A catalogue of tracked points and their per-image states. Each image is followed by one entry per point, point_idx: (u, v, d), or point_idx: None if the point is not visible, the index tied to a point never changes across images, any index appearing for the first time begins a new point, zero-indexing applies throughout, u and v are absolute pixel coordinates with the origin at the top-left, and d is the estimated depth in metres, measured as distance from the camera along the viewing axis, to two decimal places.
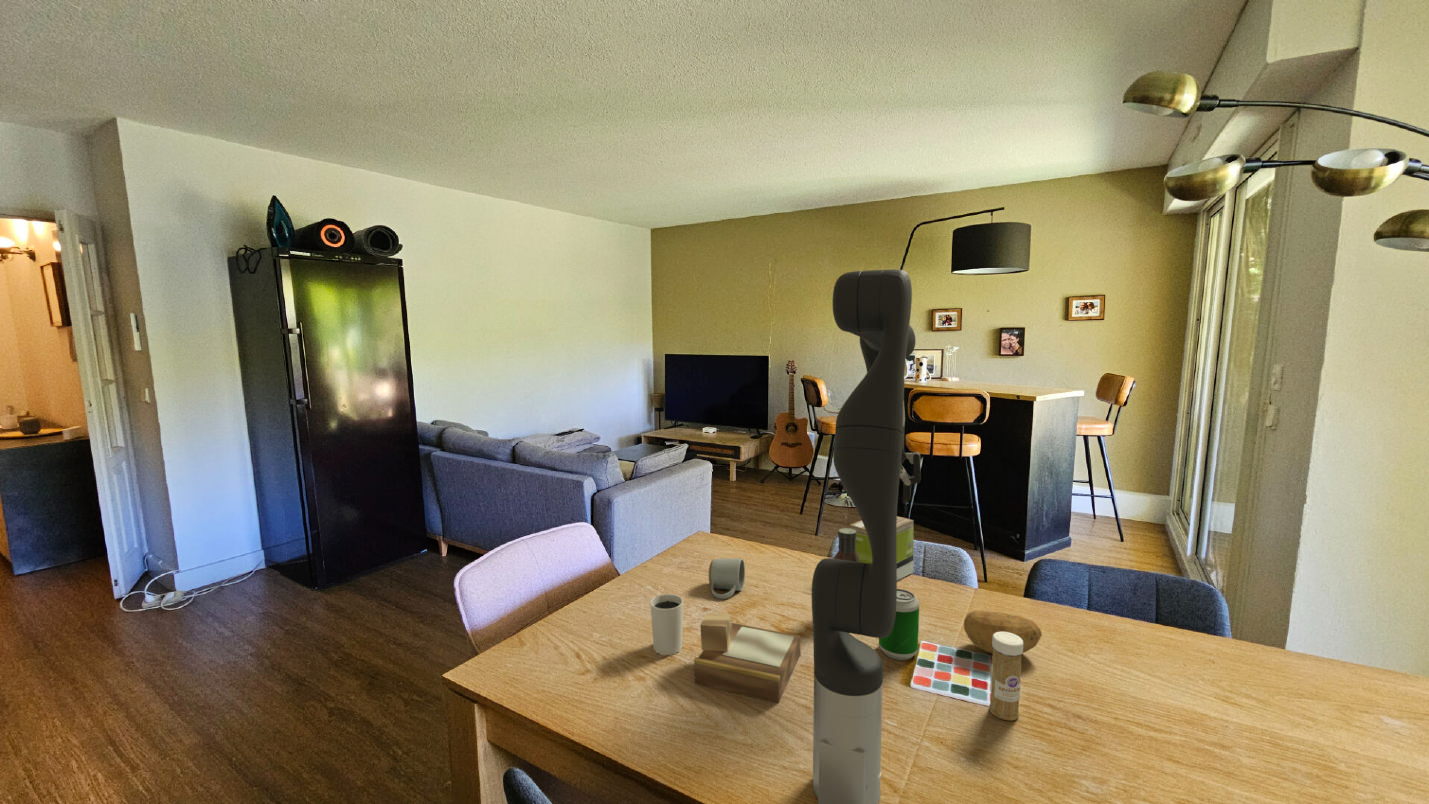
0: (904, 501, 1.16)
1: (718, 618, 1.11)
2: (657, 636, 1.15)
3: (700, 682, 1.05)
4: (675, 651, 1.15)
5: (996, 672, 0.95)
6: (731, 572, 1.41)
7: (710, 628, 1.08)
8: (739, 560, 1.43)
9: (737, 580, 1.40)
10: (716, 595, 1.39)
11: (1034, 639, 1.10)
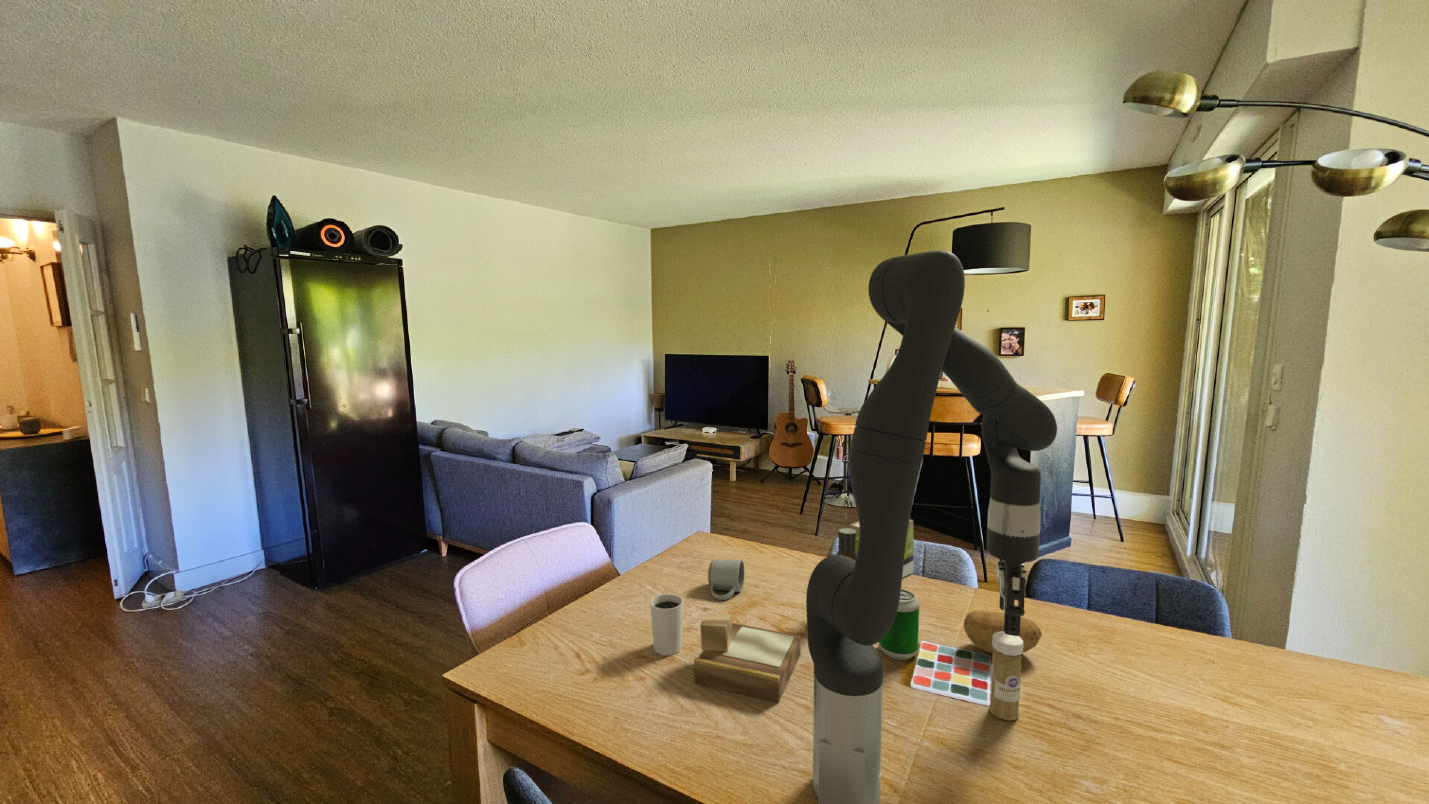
0: None
1: (718, 618, 1.11)
2: (657, 636, 1.15)
3: (700, 682, 1.05)
4: (675, 651, 1.15)
5: (996, 672, 0.95)
6: (730, 573, 1.40)
7: (710, 628, 1.08)
8: (739, 561, 1.42)
9: (737, 581, 1.39)
10: (715, 596, 1.38)
11: (1034, 639, 1.10)
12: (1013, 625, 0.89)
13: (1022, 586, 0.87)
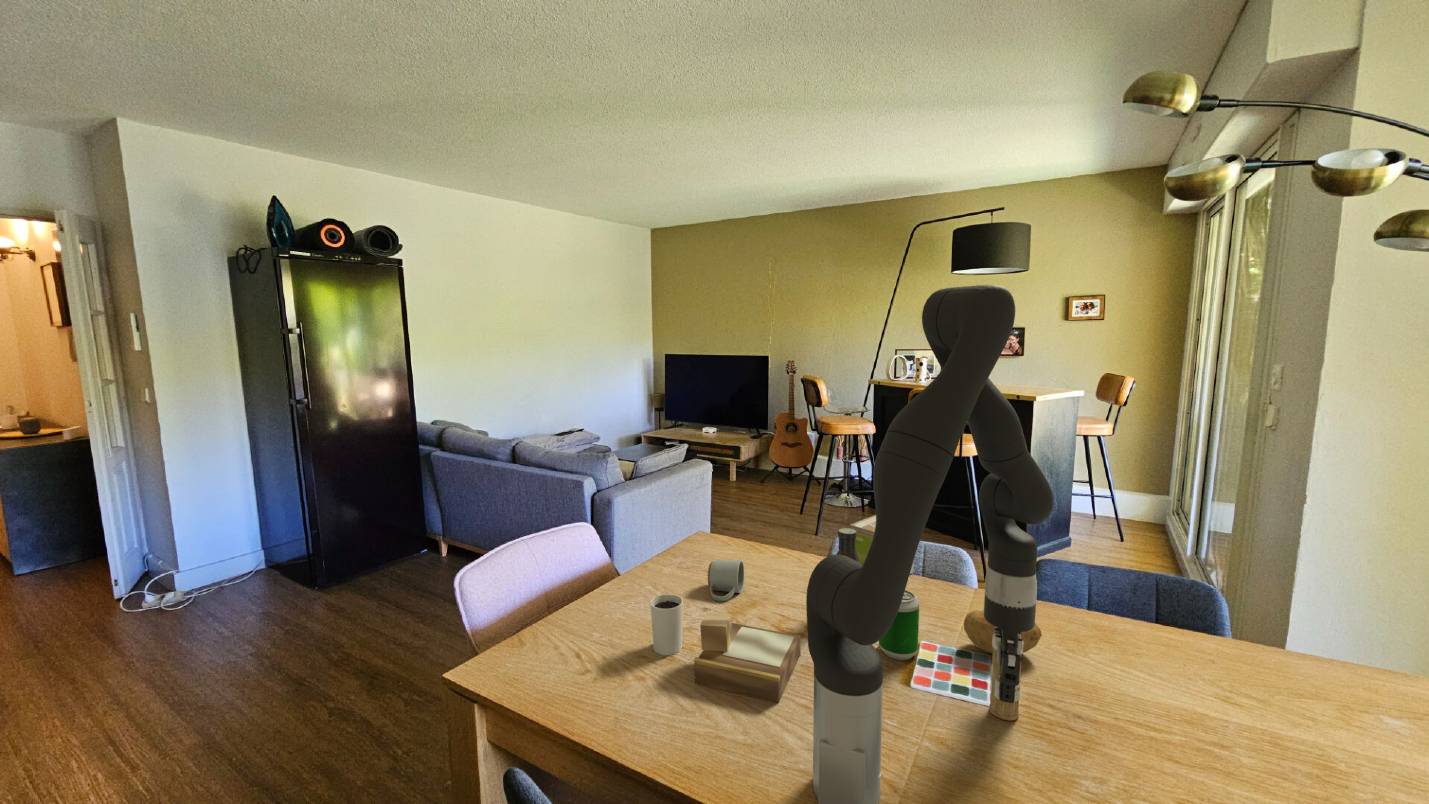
0: None
1: (718, 618, 1.11)
2: (657, 636, 1.15)
3: (700, 682, 1.05)
4: (675, 651, 1.15)
5: (996, 672, 0.95)
6: (730, 573, 1.40)
7: (710, 628, 1.08)
8: (738, 562, 1.42)
9: (736, 582, 1.39)
10: (715, 597, 1.38)
11: (1034, 639, 1.10)
12: (1008, 693, 0.92)
13: (1018, 664, 0.89)
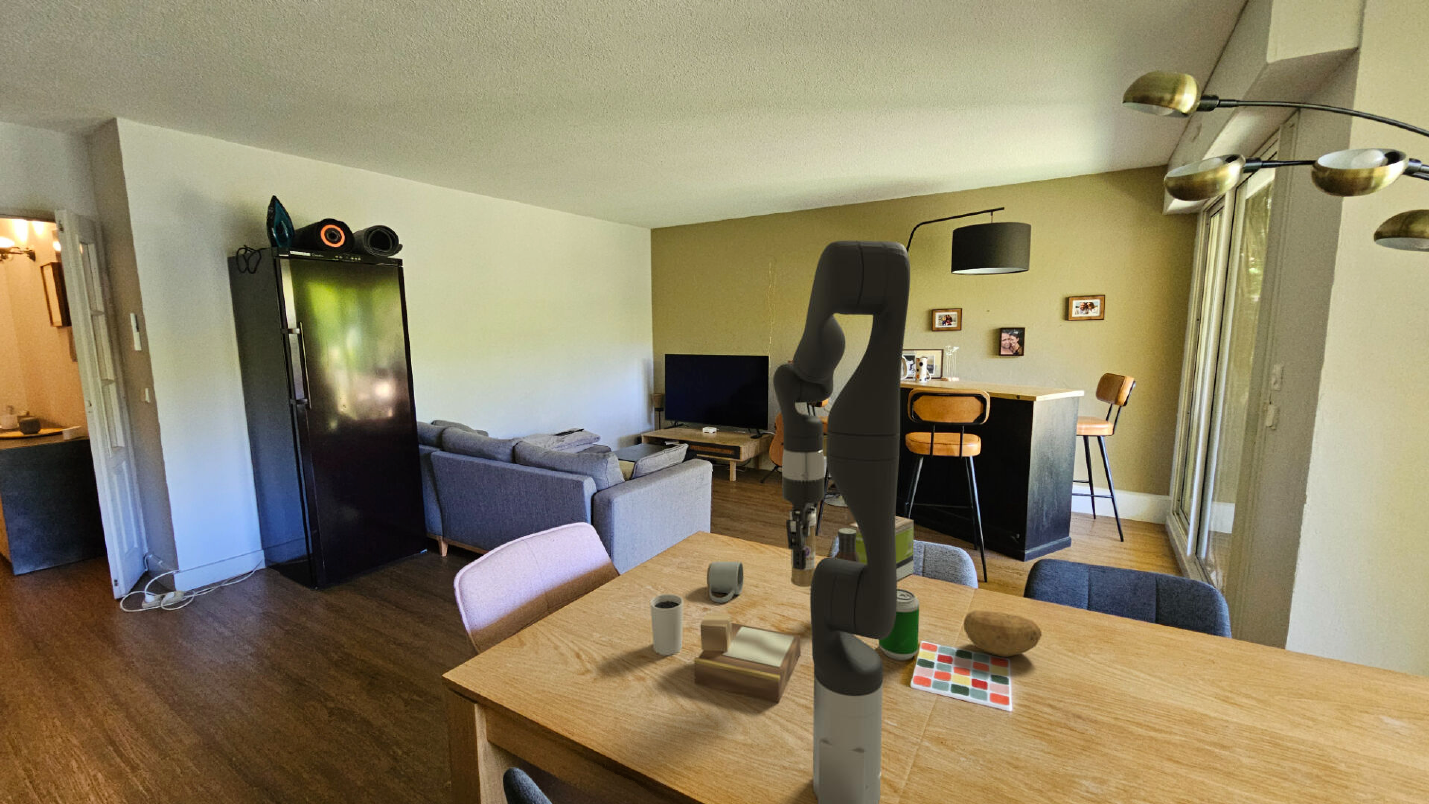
0: None
1: (718, 618, 1.11)
2: (657, 636, 1.15)
3: (700, 682, 1.05)
4: (675, 651, 1.15)
5: None
6: (729, 575, 1.39)
7: (710, 628, 1.08)
8: (738, 563, 1.41)
9: (735, 584, 1.38)
10: (714, 599, 1.37)
11: (1034, 639, 1.10)
12: (798, 560, 1.03)
13: (798, 529, 0.99)
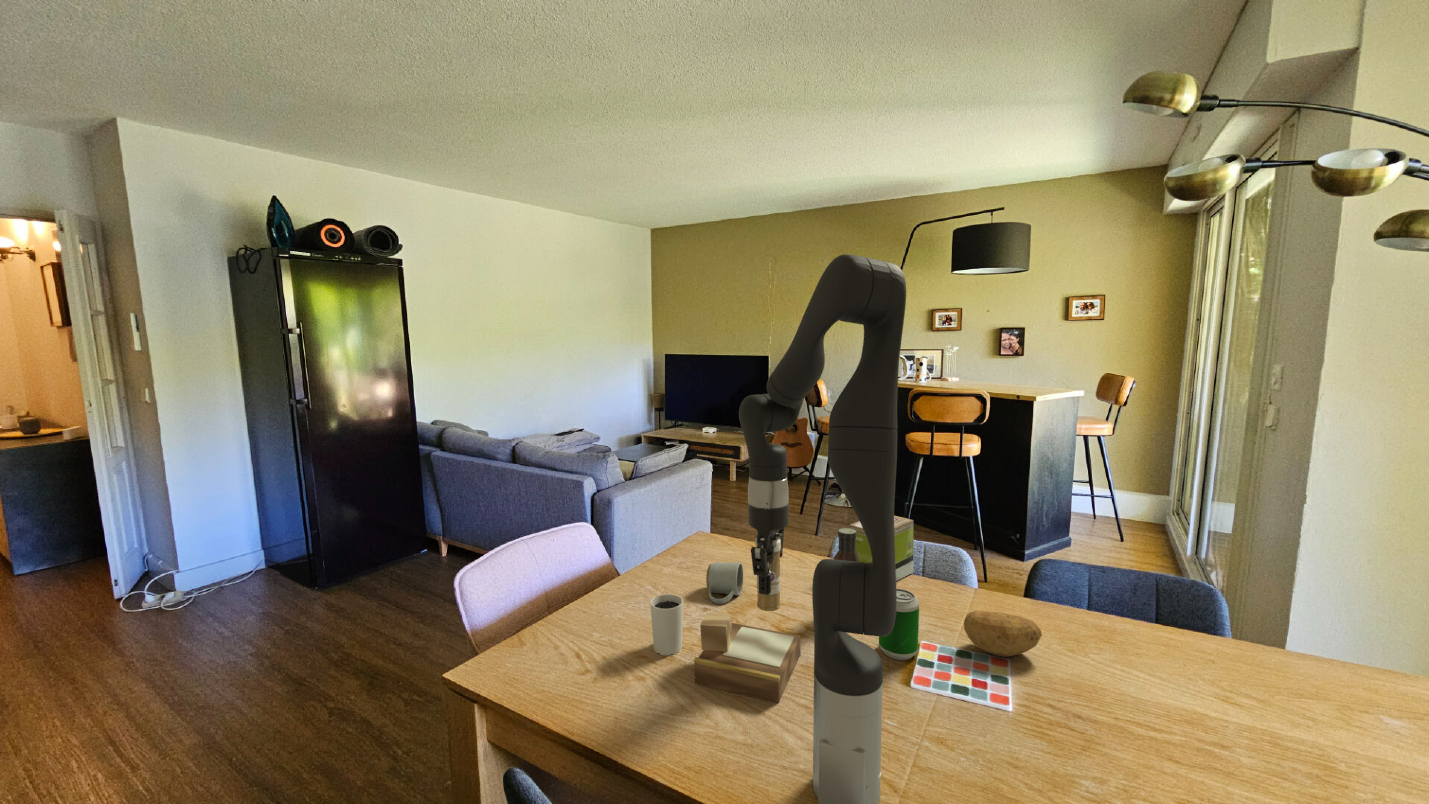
0: None
1: (718, 618, 1.11)
2: (657, 636, 1.15)
3: (700, 682, 1.05)
4: (675, 651, 1.15)
5: None
6: (729, 576, 1.38)
7: (710, 628, 1.08)
8: (737, 564, 1.40)
9: (735, 584, 1.37)
10: (714, 600, 1.36)
11: (1034, 639, 1.10)
12: (763, 585, 1.05)
13: (762, 556, 1.01)
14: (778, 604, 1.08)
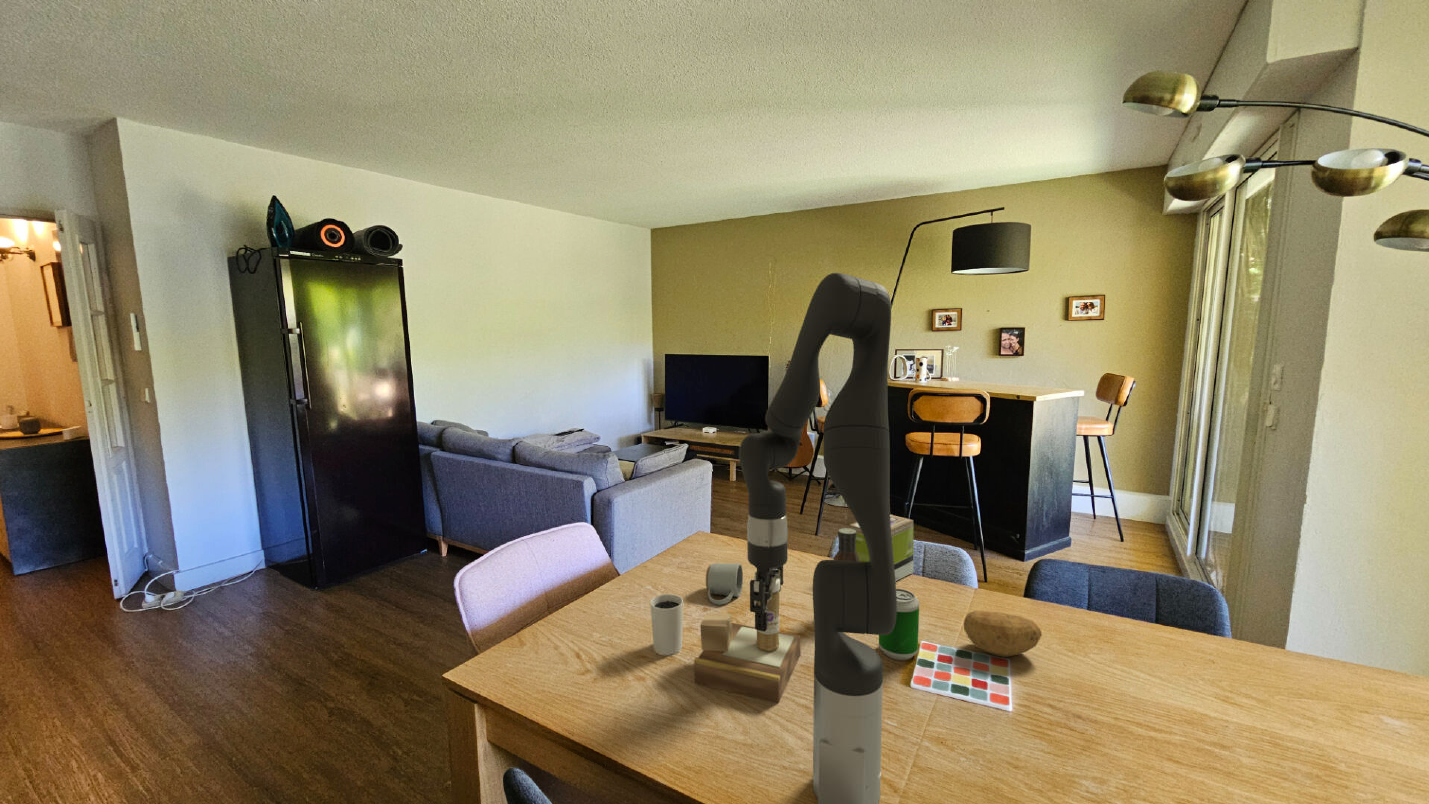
0: None
1: (718, 618, 1.11)
2: (657, 636, 1.15)
3: (700, 682, 1.05)
4: (675, 651, 1.15)
5: None
6: (728, 577, 1.38)
7: (710, 628, 1.08)
8: (737, 565, 1.40)
9: (734, 586, 1.37)
10: (713, 601, 1.36)
11: (1034, 639, 1.10)
12: (759, 622, 1.05)
13: (761, 589, 1.02)
14: (777, 643, 1.09)
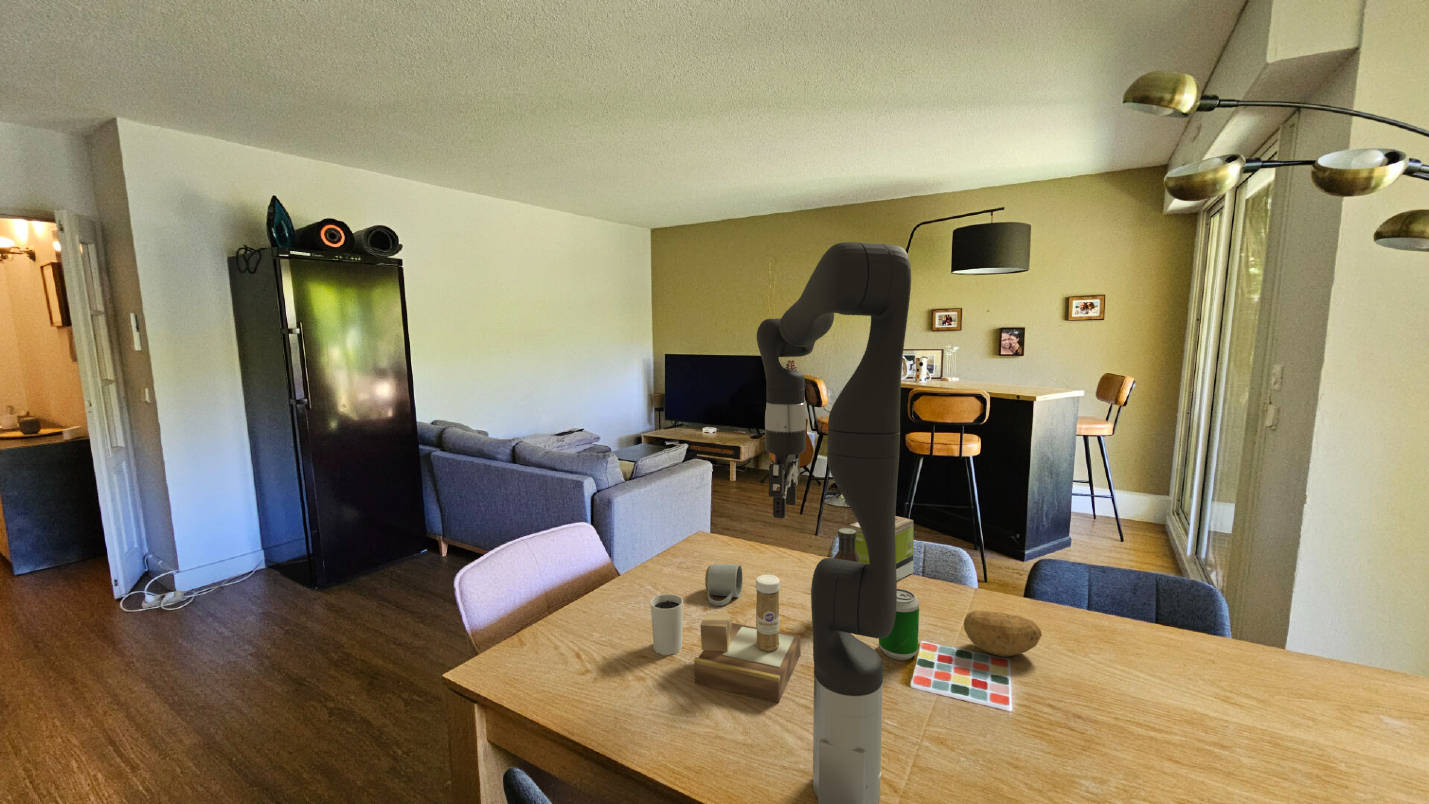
0: (795, 502, 1.12)
1: (718, 618, 1.11)
2: (657, 636, 1.15)
3: (700, 682, 1.05)
4: (675, 651, 1.15)
5: (757, 609, 1.09)
6: (728, 578, 1.37)
7: (710, 628, 1.08)
8: (736, 566, 1.39)
9: (734, 586, 1.36)
10: (712, 602, 1.35)
11: (1034, 639, 1.10)
12: (778, 508, 1.04)
13: (780, 472, 1.01)
14: (777, 644, 1.09)
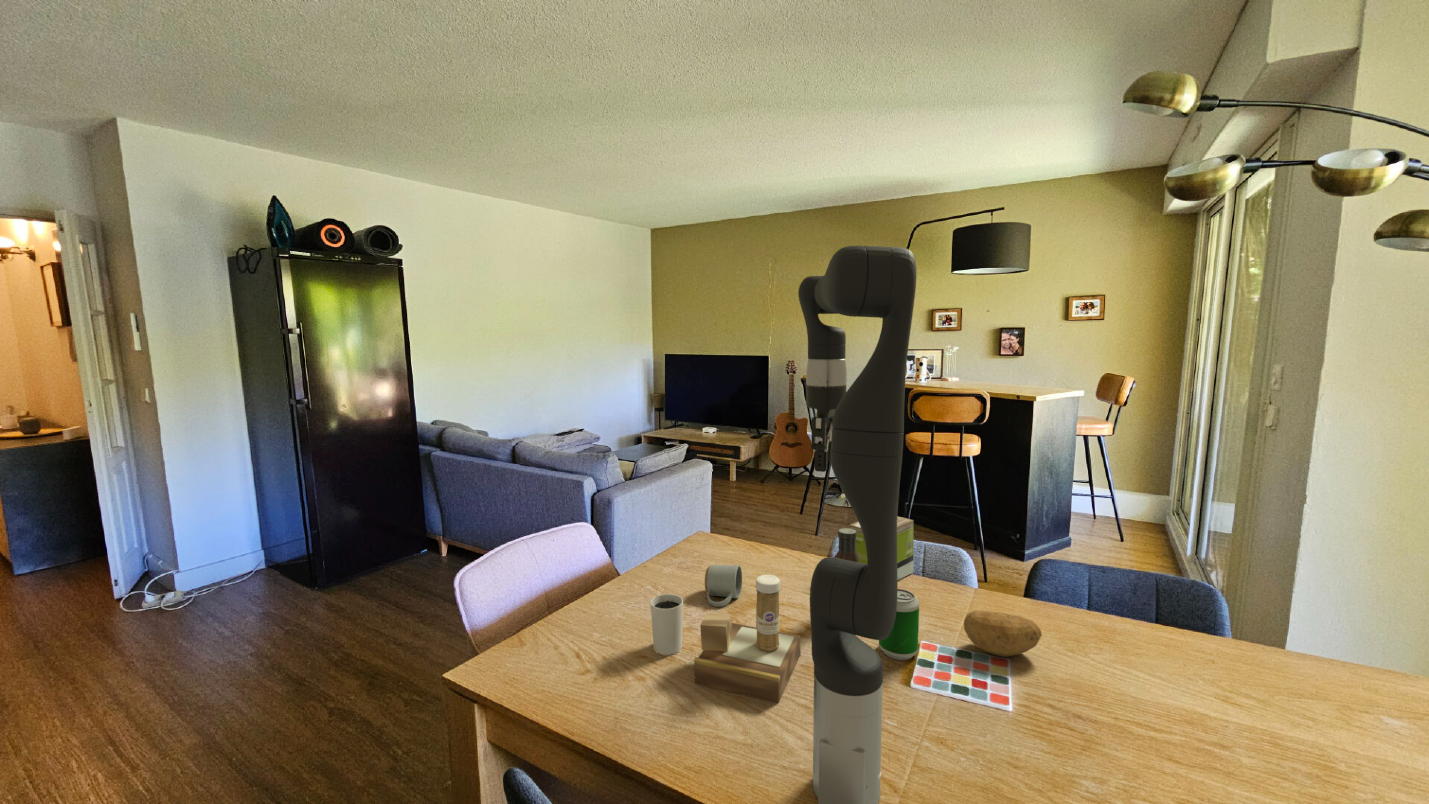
0: None
1: (718, 618, 1.11)
2: (657, 636, 1.15)
3: (700, 682, 1.05)
4: (675, 651, 1.15)
5: (757, 609, 1.09)
6: (727, 579, 1.37)
7: (710, 628, 1.08)
8: (736, 567, 1.39)
9: (734, 587, 1.36)
10: (712, 603, 1.35)
11: (1034, 639, 1.10)
12: (820, 461, 1.06)
13: (823, 424, 1.03)
14: (777, 644, 1.09)
